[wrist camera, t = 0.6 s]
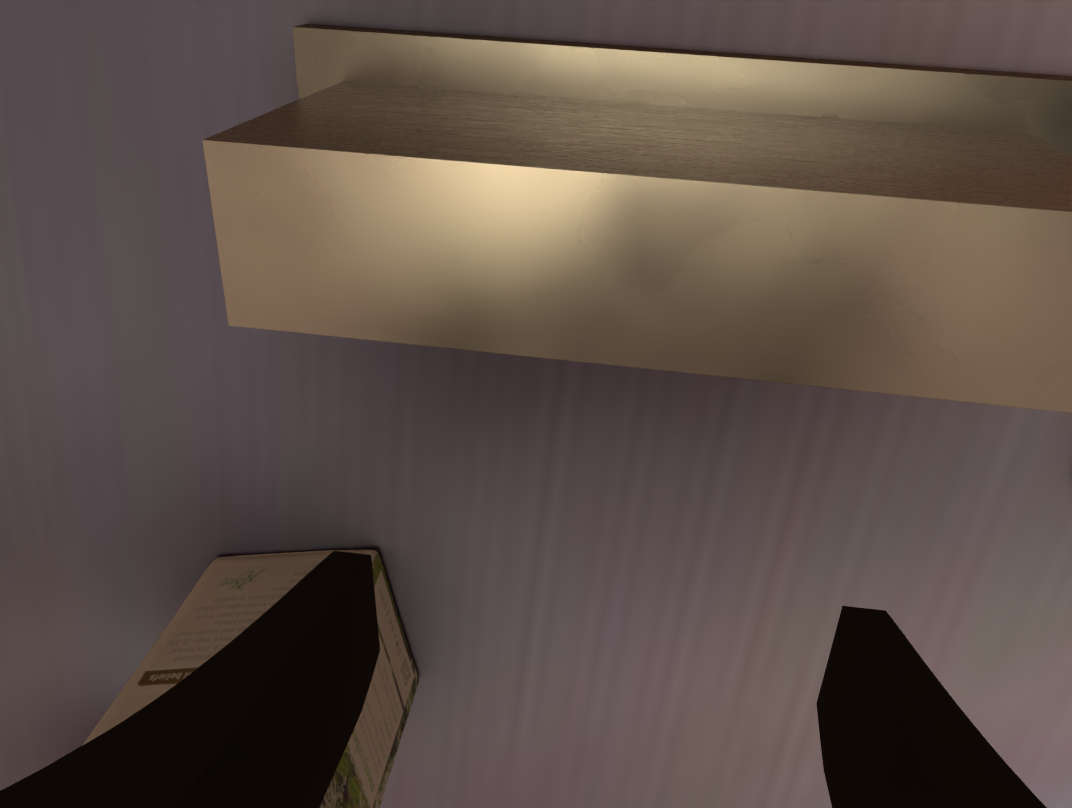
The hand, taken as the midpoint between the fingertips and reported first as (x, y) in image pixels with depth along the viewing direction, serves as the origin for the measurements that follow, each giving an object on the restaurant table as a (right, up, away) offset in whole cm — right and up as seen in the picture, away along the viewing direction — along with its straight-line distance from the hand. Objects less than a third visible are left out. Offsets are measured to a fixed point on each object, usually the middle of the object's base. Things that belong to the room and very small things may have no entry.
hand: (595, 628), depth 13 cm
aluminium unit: (+2, +9, +6) cm, 11 cm away
